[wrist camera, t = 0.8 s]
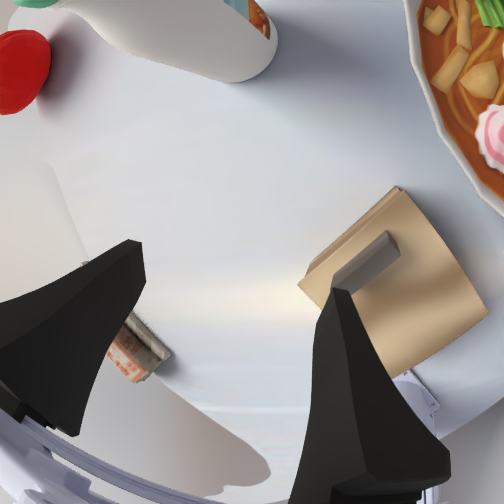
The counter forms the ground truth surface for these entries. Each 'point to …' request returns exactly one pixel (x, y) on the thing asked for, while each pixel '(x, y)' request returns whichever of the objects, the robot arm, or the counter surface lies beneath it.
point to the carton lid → (400, 286)
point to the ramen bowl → (464, 83)
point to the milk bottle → (183, 32)
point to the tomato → (22, 68)
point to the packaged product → (136, 349)
